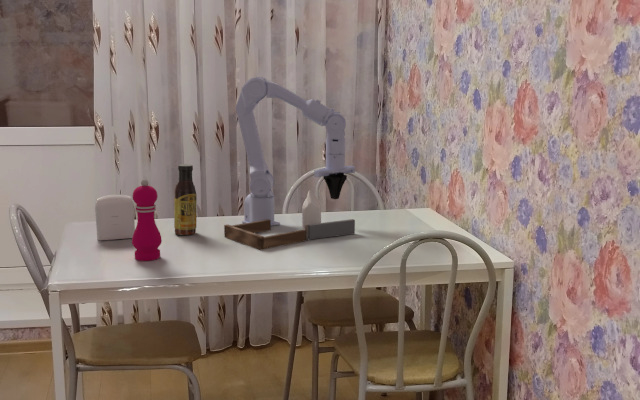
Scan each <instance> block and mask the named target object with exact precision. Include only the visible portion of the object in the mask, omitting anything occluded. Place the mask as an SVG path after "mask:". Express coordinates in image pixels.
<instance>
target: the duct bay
mask: <svg viewBox="0 0 640 400" xmlns="http://www.w3.org/2000/svg"><path fill="white" fill-rule="evenodd" d="M271 227H272V226H271V220H269V219H268V220H262V221H256V222H250V223H238V224H232V225H231V224H224V226H223V229H224V234H223V235H224V238H226V239H229V240H231V241H234V242H237V243H239V244H242V245H245V246H248V247H251V248H254V249H256V250H260V251H263V250H267V249H272V248H278V247H283V246H287V245H292V244H297V243H301V242H306V241H309V239H308V225H305V230H303V229H300V230H295V231H294V230H293V231H289V232H283V233H278V234H273V235H268V236H264V235H261V234H258V233H262V232H269V231H271V230H272V229H271Z"/></svg>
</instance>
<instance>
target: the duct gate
mask: <svg viewBox="0 0 640 400" xmlns="http://www.w3.org/2000/svg"><path fill="white" fill-rule="evenodd" d="M355 231H356V220H355V219H353V218H352V219H343V220H335V221H327V222H321V223H317V224H309V225H308V240H317V239H322V238H323V239H324V238H331V237H337V236H344V235H346V236H347V235H354V234H356V233H355Z"/></svg>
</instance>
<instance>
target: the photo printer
mask: <svg viewBox="0 0 640 400" xmlns="http://www.w3.org/2000/svg"><path fill="white" fill-rule="evenodd" d="M134 207H135V205H134V200H133V198H132V196H130V195H125V194H108V195H103V196H101V197H98V198H96V202H95V208H94V212H95V226H96V238H97V241H100V242H101V241H113V240H122V239H123V240H125V239H132V237H133V234H134V231H135V229H136V228H135V227H136V226H135V209H134Z"/></svg>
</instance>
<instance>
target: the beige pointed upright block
mask: <svg viewBox="0 0 640 400" xmlns="http://www.w3.org/2000/svg"><path fill="white" fill-rule="evenodd" d="M301 215H302V216H301V222H302V224H301V225H302V230H305V225H309V224H317V223H322V205H321V202H320V200H319V199H318V197H317V196H316V194H315V193H314V191H312V190H311V189H309V190H308V192H307V195H306V198H305V200H304V201H303V204H302V207H301Z"/></svg>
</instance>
